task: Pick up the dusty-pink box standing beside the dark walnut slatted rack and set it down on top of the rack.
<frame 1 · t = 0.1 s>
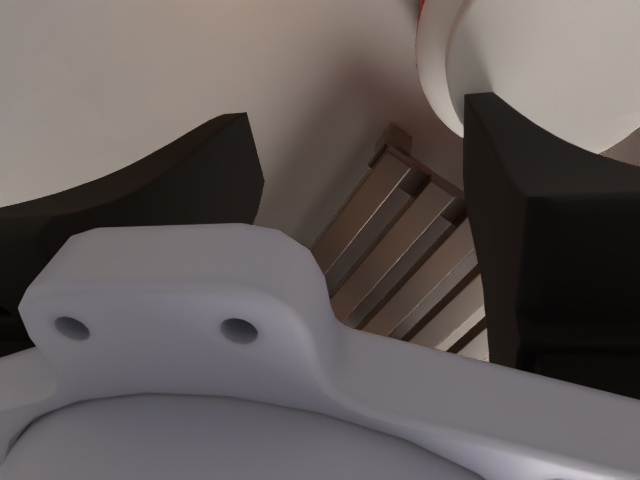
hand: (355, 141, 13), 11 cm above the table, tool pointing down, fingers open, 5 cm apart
rack: (415, 275, 27), on the table
pill bottle: (496, 10, 20), on the table, touching gripper
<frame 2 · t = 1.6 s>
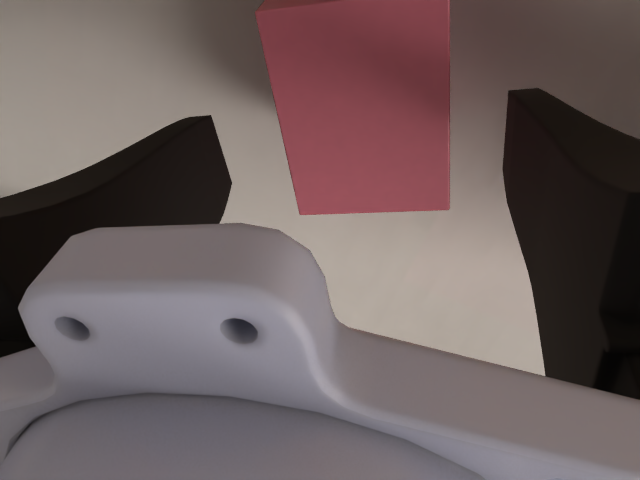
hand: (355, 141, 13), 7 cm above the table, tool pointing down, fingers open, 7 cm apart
pink box: (376, 48, 18), on the table
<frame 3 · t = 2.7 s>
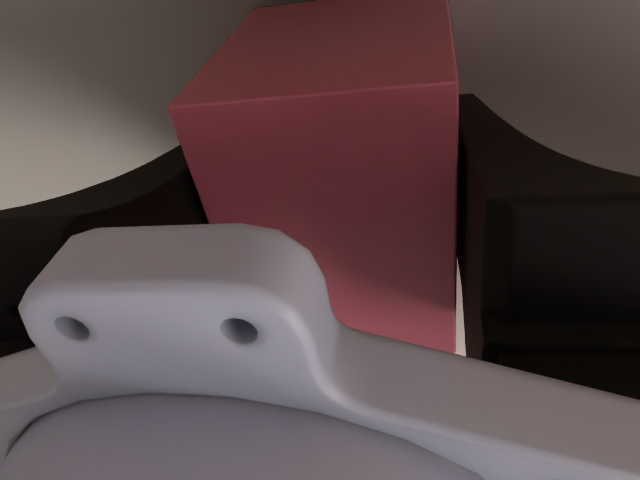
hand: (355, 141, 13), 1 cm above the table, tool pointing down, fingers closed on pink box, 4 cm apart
pink box: (359, 116, 14), on the table, touching gripper
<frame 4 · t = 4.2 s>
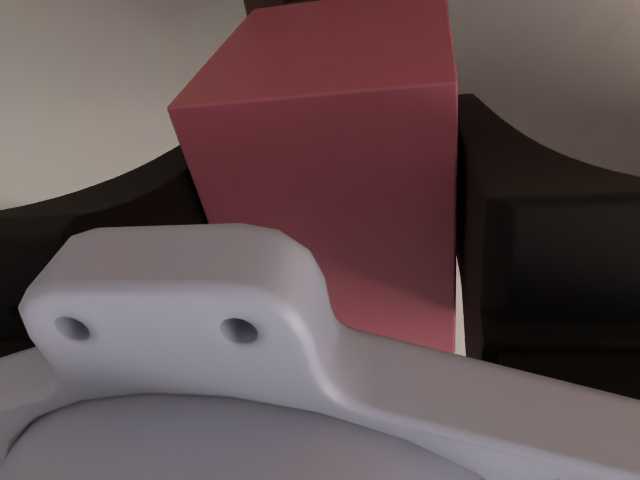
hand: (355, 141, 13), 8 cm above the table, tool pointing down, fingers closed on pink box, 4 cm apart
pink box: (358, 116, 14), point 7 cm above the table, touching gripper
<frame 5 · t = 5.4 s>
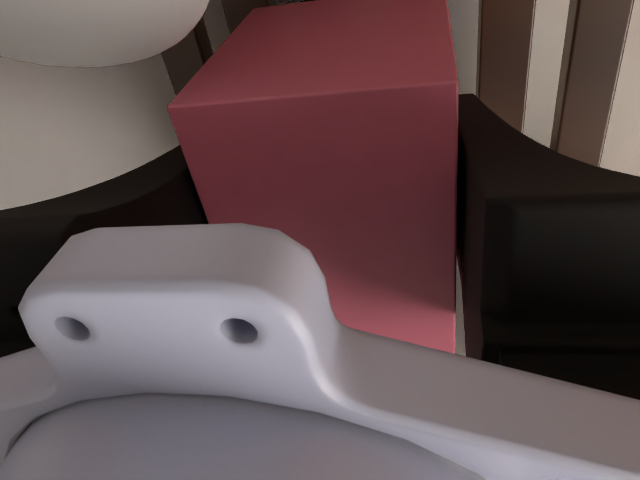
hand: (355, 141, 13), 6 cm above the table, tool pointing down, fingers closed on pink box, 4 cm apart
rack: (387, 39, 17), on the table
pink box: (359, 116, 14), point 5 cm above the table, touching gripper
when the fingers open (5 cm above the table, at t = 6.0 s): pink box stays where it is, resting on rack.
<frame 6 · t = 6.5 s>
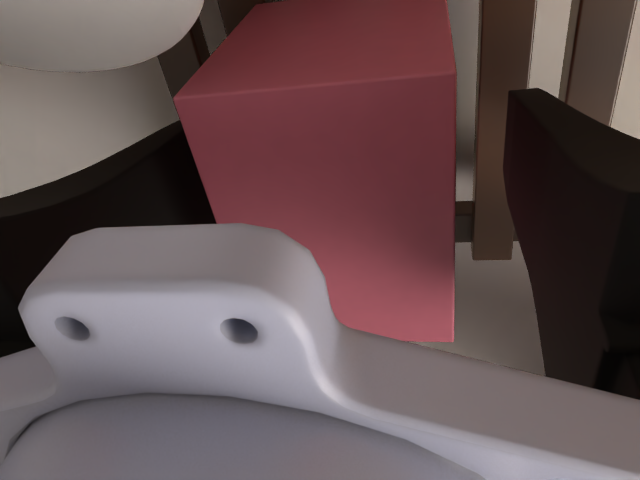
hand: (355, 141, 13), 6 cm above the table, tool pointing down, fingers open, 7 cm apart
rack: (386, 41, 16), on the table
pink box: (359, 110, 14), point 4 cm above the table, touching rack
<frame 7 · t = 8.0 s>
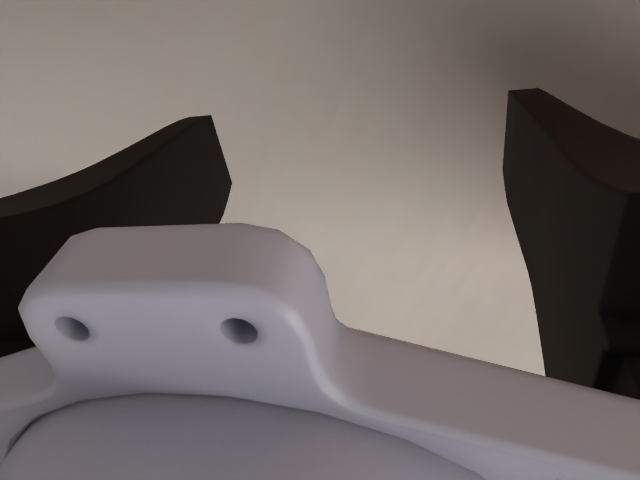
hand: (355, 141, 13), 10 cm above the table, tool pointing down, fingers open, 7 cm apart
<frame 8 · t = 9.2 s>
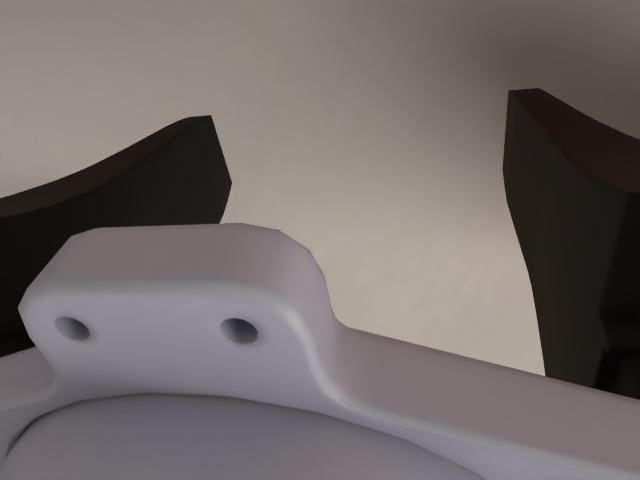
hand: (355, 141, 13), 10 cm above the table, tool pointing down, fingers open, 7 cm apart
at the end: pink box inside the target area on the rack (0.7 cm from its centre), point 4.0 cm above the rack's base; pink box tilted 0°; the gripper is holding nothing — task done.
